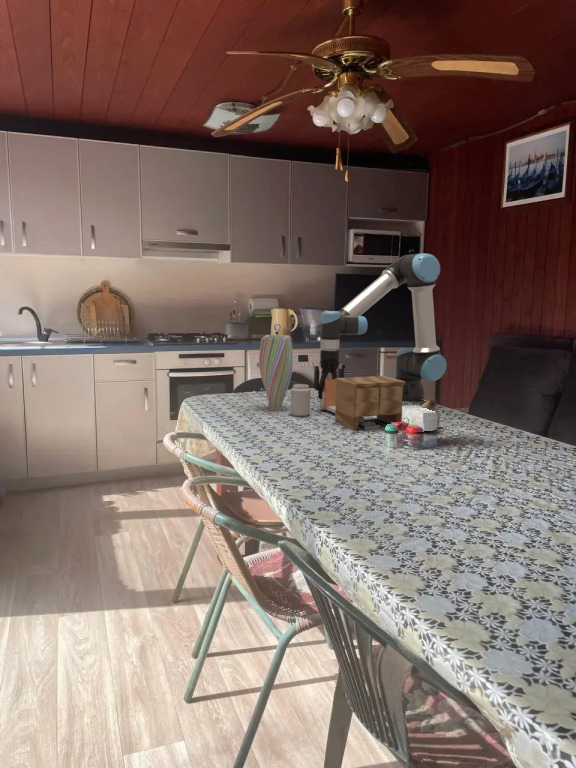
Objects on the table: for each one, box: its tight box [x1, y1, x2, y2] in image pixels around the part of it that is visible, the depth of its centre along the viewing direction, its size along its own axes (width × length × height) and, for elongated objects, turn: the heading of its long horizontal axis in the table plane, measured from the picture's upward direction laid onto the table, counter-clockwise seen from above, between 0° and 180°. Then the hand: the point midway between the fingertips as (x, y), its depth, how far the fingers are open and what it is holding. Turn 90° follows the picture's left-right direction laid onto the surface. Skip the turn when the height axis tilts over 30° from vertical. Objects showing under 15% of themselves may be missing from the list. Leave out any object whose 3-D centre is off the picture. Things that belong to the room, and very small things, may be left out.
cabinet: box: [334, 375, 405, 431], centre depth 215 cm, size 21×15×16 cm
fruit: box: [419, 398, 441, 428], centre depth 207 cm, size 10×9×12 cm
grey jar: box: [290, 383, 311, 418], centre depth 229 cm, size 8×8×12 cm
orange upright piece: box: [320, 377, 366, 423], centre depth 228 cm, size 29×5×12 cm, turn 22°
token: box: [358, 421, 381, 432], centre depth 210 cm, size 6×6×2 cm
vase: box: [258, 334, 294, 411], centre depth 239 cm, size 14×14×30 cm
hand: (328, 406), depth 240 cm, fingers closed on orange upright piece, 5 cm apart
